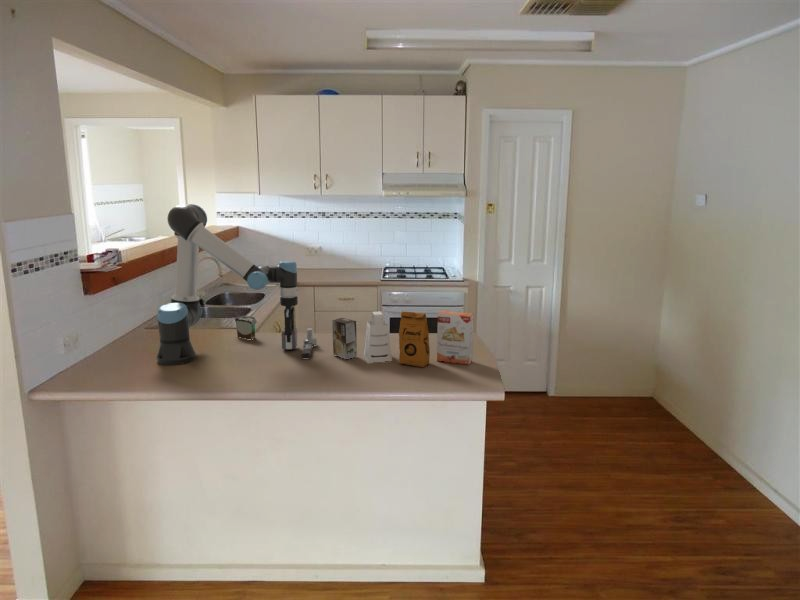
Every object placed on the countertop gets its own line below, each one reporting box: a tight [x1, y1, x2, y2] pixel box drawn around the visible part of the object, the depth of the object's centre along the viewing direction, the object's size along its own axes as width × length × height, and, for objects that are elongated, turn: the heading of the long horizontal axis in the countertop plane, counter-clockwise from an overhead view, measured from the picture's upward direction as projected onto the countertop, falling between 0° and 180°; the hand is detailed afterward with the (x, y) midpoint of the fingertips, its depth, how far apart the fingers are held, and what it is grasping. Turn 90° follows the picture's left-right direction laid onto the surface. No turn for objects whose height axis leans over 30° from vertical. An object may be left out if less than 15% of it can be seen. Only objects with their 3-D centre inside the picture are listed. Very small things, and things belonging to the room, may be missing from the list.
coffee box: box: [331, 317, 358, 360], centre depth 238 cm, size 9×6×16 cm
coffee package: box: [398, 311, 431, 368], centre depth 228 cm, size 10×12×22 cm
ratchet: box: [301, 327, 318, 359], centre depth 247 cm, size 22×6×8 cm, turn 4°
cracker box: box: [436, 310, 474, 366], centre depth 231 cm, size 14×6×21 cm, turn 68°
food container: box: [234, 315, 258, 341], centre depth 268 cm, size 12×6×10 cm, turn 58°
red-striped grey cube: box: [280, 327, 298, 350], centre depth 249 cm, size 6×6×8 cm
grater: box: [363, 310, 393, 364], centre depth 235 cm, size 10×10×20 cm
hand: (290, 346), depth 250 cm, fingers closed on red-striped grey cube, 6 cm apart
